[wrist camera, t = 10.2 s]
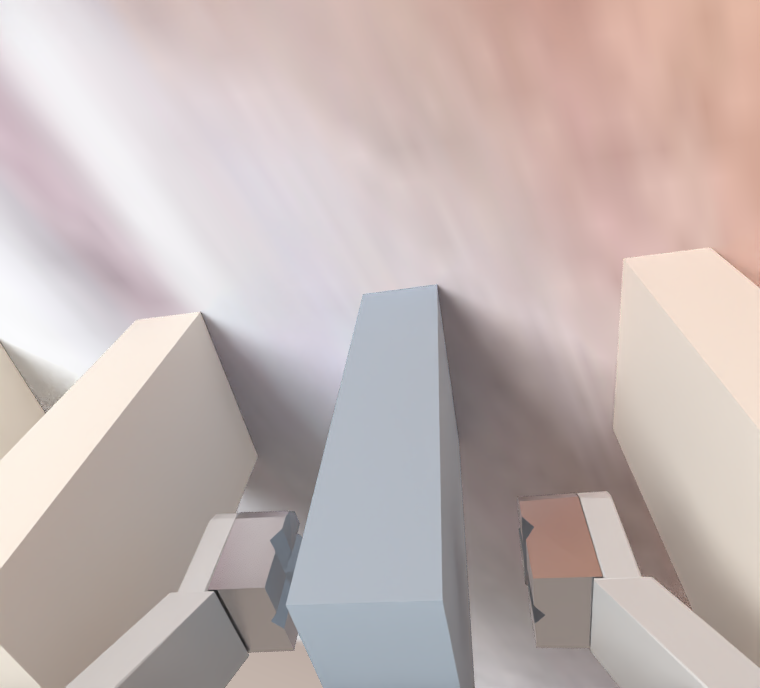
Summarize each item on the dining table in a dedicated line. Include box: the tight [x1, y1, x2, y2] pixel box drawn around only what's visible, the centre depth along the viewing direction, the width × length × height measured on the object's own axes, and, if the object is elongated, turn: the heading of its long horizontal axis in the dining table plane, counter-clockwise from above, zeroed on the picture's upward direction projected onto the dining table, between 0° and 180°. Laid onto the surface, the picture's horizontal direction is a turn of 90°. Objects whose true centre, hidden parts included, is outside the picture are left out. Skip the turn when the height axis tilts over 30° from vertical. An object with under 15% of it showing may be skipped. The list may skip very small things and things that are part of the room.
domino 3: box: [613, 247, 760, 668], centre depth 10 cm, size 2×5×8 cm, turn 10°
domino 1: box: [0, 312, 258, 688], centre depth 12 cm, size 2×5×8 cm, turn 10°
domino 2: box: [286, 285, 475, 688], centre depth 11 cm, size 2×5×8 cm, turn 11°
